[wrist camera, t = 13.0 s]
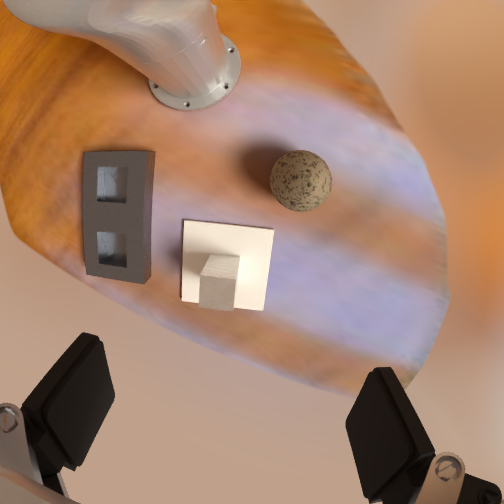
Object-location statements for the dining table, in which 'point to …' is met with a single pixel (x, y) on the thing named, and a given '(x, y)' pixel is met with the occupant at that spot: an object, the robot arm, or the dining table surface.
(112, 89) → the dining table surface
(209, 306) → the steel block
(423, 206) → the dining table surface
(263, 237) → the tile
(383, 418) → the robot arm
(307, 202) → the decorative egg
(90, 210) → the block with square recesses
